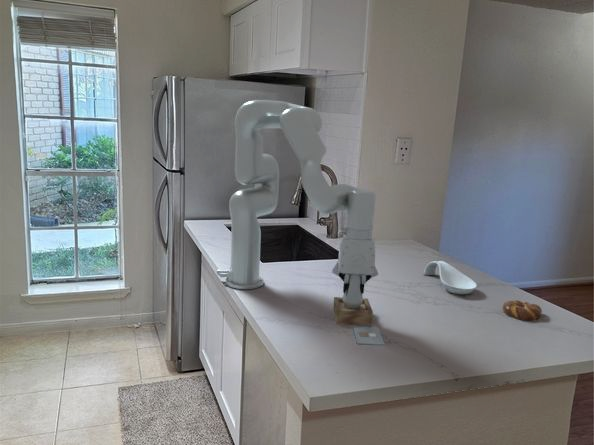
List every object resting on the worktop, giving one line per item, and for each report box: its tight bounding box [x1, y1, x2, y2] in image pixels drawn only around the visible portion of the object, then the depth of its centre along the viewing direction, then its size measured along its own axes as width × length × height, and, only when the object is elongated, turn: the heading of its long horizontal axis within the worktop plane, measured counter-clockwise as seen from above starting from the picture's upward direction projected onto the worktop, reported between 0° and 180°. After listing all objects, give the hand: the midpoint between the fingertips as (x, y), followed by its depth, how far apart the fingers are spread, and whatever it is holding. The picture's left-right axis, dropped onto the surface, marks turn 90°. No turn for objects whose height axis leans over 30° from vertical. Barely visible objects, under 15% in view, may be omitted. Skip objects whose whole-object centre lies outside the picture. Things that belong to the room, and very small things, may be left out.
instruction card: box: [352, 325, 386, 346], centre depth 138 cm, size 7×10×1 cm
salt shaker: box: [342, 274, 364, 310], centre depth 148 cm, size 6×6×13 cm
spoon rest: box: [423, 260, 478, 295], centre depth 181 cm, size 24×12×7 cm, turn 20°
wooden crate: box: [332, 296, 374, 326], centre depth 150 cm, size 10×10×4 cm
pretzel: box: [502, 300, 543, 322], centre depth 160 cm, size 12×11×4 cm
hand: (353, 294), depth 149 cm, fingers closed on salt shaker, 3 cm apart
